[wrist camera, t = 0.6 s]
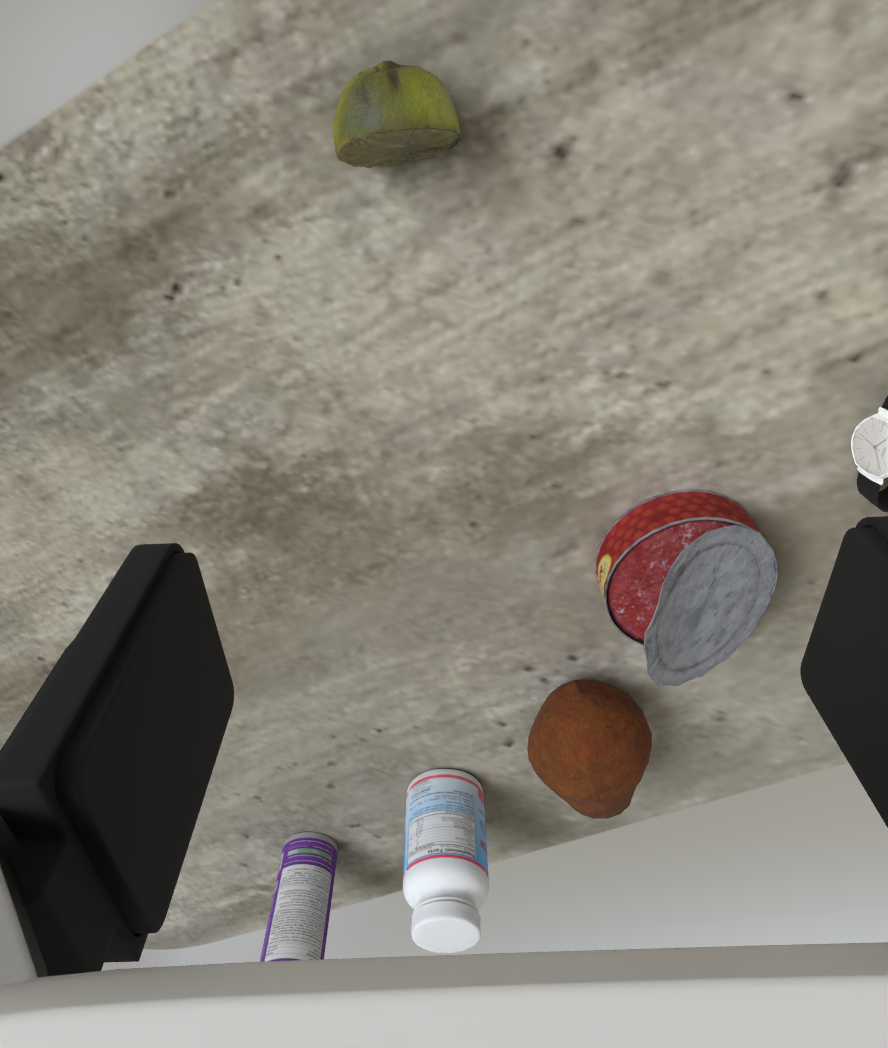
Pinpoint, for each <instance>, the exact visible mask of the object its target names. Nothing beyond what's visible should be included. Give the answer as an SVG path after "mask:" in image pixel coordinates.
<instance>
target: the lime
mask: <svg viewBox="0 0 888 1048" xmlns="http://www.w3.org/2000/svg"><path fill="white" fill-rule="evenodd" d="M333 134H334V145H335V150H336V154H337V157H338V159H339V160H340V161H343V162H345V163H348V164H350V165H352V166H354V167H359V166H360V167H366V168H372V167H376V166H377V167H385V166H393V165H397V164H399V163H404V162H409V161H411V160H417V159H419V158H422V159H423V158H427V157H429V156H431V155H434V154H435V153H437V152H440V151H442V150H444V149H449V148H452V147H453V146H455V144H457V143H458V142H459V141H460V126H459V121H458V116H457V113H456V110H455V107H454V104H453V101H452V99H451V97H450V95H449V93H448V91H447V90H446V88H445V87H444V85H443V84H442V82H441V81H440V80H439V79H438V78H437V77H435V76H434V75H432V74H431V73H430V72H428V71H426V70H424V69H422V68H420V67H417V66H405V65H398V64H396V63H394V62H392V61H383V62H381V63H379V64H378V65H377V66H375V67H373V68H371V69H368V70H366V71H363V72H360V73H358V74H357V75H356V76H355V77H354V78H353V79H352V80H351V81H350V82H348V83H347V85H346V86H345V88H344V90H343V91H342V93H341V96H340V99H339V102H338V105H337V108H336V113H335V118H334V125H333Z"/></svg>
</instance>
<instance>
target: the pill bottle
mask: <svg viewBox="0 0 888 1048" xmlns="http://www.w3.org/2000/svg"><path fill="white" fill-rule="evenodd" d="M488 888H489V884H488V863H487V845H486V829H485V811H484V796H483V789H482V787H481V785H480V783H479V782H478V780H477V779H476V778H474V777H473V776H472V775H470V774H468V773H466V772H463V771H459V770H454V769H434V770H430V771H427V772H424V773H422V774H420V775H419V776H417V777H416V778H415V779H414V780H413V781H412V782H411V784H410V785H409V787H408V790H407V798H406V820H405V843H404V868H403V892H404V896H405V898H406V900H407V902H408V904H409V905H410V906H411V907H412V908H413V909H414V911H413V915H412V918H411V921H412V938H413V940H414V942H415V943H416V944H417V945H418V946H420V947H421V948H423V949H426V950H429V951H432V952H438V953H453V952H459V951H463V950H466V949H469V948H471V947H472V946H474V945H475V944H476V943H477V942H478V941H479V938H480V934H481V933H480V915H479V910H478V909H479V908H480V907H481V905H482V904H483V903H484V901H485V899H486V897H487V894H488Z"/></svg>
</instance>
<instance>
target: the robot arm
mask: <svg viewBox="0 0 888 1048" xmlns="http://www.w3.org/2000/svg"><path fill="white" fill-rule="evenodd" d="M801 679H802V683H803V686H804V688H805V690H806V692H807V694H808V695H809V697H810V699H811V700H812V702H813V704H814V705H815V707H816V709H817V710H818V712H819V714H820V715H821V717H822V719H823V720H824V722H825V724H826V725H827V727H828V729H829V730H830V732H831V734H832V735H833V737H834V739H835V740H836V742H837V744H838V745H839V747H840V749H841V750H842V752H843V754H844V755H845V757H846V759H847V760H848V762H849V764H850V765H851V767H852V769H853V770H854V772H855V774H856V775H857V777H858V779H859V780H860V782H861V784H862V786H863V787H864V788H865V790H866V792H867V794H868V796H869V797H870V799H871V801H872V802H873V804H874V806H875V807H876V809H877V811H878V812H879V814H880V815H881V817H882V819H883V821H884V822H885V824H886V826H887V827H888V516H885V517H866V518H864V519H862V520H861V521H860V522H859V523H858V524H857V526H856V528H851V529H849V530H848V531H847V532H846V534H845V536H844V538H843V541H842V544H841V547H840V550H839V553H838V556H837V559H836V562H835V565H834V568H833V571H832V574H831V577H830V580H829V583H828V586H827V589H826V592H825V595H824V598H823V600H822V603H821V606H820V609H819V612H818V615H817V618H816V621H815V624H814V627H813V630H812V633H811V636H810V639H809V642H808V645H807V648H806V651H805V654H804V657H803V660H802V664H801ZM233 701H234V687H233V682H232V679H231V675H230V672H229V668H228V665H227V662H226V658H225V655H224V651H223V648H222V644H221V641H220V637H219V634H218V630H217V627H216V623H215V620H214V617H213V613H212V610H211V606H210V603H209V599H208V596H207V592H206V589H205V585H204V582H203V579H202V575H201V572H200V568H199V565H198V561H197V559H196V557H195V555H194V554H193V553H184V550H183V549H182V547H181V546H180V545H179V544H177V543H170V544H144V545H137V546H135V547H134V548H133V549H132V550H131V552H130V553H129V555H128V556H127V558H126V559H125V561H124V562H123V564H122V566H121V567H120V569H119V570H118V572H117V573H116V575H115V577H114V578H113V580H112V581H111V583H110V584H109V586H108V588H107V589H106V591H105V592H104V594H103V595H102V597H101V599H100V600H99V602H98V603H97V605H96V606H95V608H94V610H93V611H92V613H91V614H90V616H89V617H88V619H87V621H86V622H85V624H84V625H83V627H82V628H81V630H80V632H79V633H78V635H77V636H76V638H75V639H74V641H72V642H71V644H70V645H69V646H68V647H67V648H66V649H65V651H64V652H63V654H62V655H61V657H60V659H59V660H58V662H57V663H56V665H55V666H54V668H53V670H52V671H51V673H50V674H49V676H48V677H47V679H46V680H45V682H44V684H43V685H42V687H41V688H40V690H39V691H38V693H37V694H36V696H35V698H34V699H33V701H32V702H31V704H30V705H29V707H28V708H27V710H26V712H25V713H24V715H23V716H22V718H21V719H20V721H19V722H18V724H17V726H16V727H15V729H14V730H13V732H12V733H11V735H10V736H9V738H8V740H7V741H6V743H5V744H4V746H3V747H2V749H1V750H0V1048H888V942H887V943H848V944H847V943H846V944H810V945H809V944H808V945H807V944H805V945H767V946H730V947H697V948H661V949H627V950H594V951H562V952H530V953H529V952H528V953H497V954H467V955H438V956H410V957H381V958H352V959H324V960H295V961H267V962H246V963H228V964H208V965H190V966H171V967H153V968H133V969H116V970H106V971H101V969H102V966H103V963H104V962H130V961H139V959H140V956H141V953H142V950H143V947H144V944H145V941H146V938H147V935H148V933H156V932H157V931H159V930H160V928H161V926H162V925H163V922H164V920H165V917H166V914H167V911H168V908H169V905H170V902H171V899H172V896H173V892H174V889H175V886H176V883H177V880H178V877H179V874H180V871H181V867H182V864H183V861H184V858H185V855H186V852H187V849H188V846H189V842H190V839H191V836H192V833H193V830H194V827H195V824H196V821H197V817H198V814H199V811H200V808H201V805H202V802H203V799H204V796H205V792H206V789H207V786H208V783H209V780H210V777H211V774H212V771H213V767H214V764H215V761H216V758H217V755H218V752H219V749H220V746H221V742H222V739H223V736H224V733H225V730H226V727H227V724H228V721H229V717H230V714H231V711H232V707H233Z"/></svg>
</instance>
